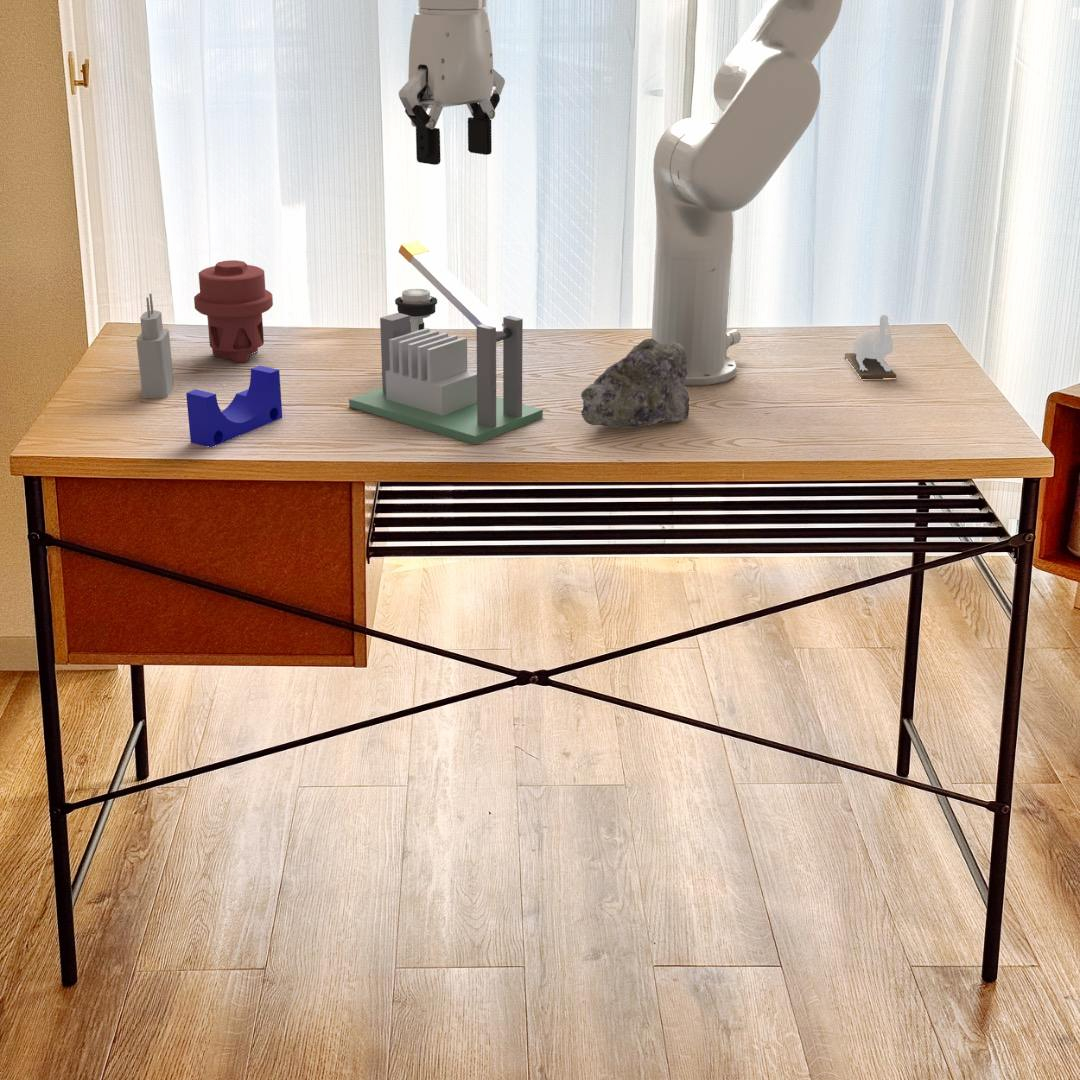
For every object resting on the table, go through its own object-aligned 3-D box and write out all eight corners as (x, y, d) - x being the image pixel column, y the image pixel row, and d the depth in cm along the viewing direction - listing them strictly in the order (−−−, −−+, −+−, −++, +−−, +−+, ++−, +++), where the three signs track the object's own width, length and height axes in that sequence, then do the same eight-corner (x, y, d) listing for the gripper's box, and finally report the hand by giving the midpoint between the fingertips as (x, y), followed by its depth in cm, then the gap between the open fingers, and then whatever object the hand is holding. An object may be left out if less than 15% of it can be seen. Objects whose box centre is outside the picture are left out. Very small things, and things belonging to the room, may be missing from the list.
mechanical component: (183, 358, 192) (239, 341, 200) (236, 372, 187) (292, 354, 194) (174, 265, 187) (232, 251, 195) (229, 276, 182) (286, 262, 189)
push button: (432, 378, 185) (430, 301, 181) (391, 376, 186) (388, 299, 182) (441, 363, 191) (440, 287, 187) (401, 361, 192) (399, 286, 188)
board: (418, 383, 183) (415, 285, 178) (542, 417, 172) (543, 313, 167) (349, 406, 175) (344, 304, 170) (475, 444, 163) (474, 336, 158)
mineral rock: (580, 437, 166) (582, 352, 162) (578, 406, 176) (580, 325, 172) (694, 438, 166) (698, 353, 162) (685, 407, 176) (689, 326, 172)
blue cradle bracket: (253, 412, 173) (249, 363, 171) (282, 418, 171) (279, 369, 169) (181, 441, 164) (176, 390, 162) (210, 449, 162) (206, 397, 159)
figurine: (905, 391, 183) (911, 324, 179) (869, 392, 183) (875, 324, 179) (877, 358, 196) (882, 294, 192) (843, 359, 196) (848, 295, 192)
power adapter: (141, 398, 177) (130, 301, 172) (149, 384, 182) (140, 289, 177) (167, 398, 177) (157, 301, 172) (175, 384, 182) (166, 289, 177)
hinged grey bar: (414, 248, 170) (418, 239, 169) (509, 340, 165) (513, 332, 165) (397, 252, 168) (401, 243, 167) (493, 345, 163) (497, 337, 163)
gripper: (477, -7, 172) (479, 145, 179) (372, 1, 159) (378, 164, 166) (527, -3, 167) (526, 152, 175) (423, 5, 155) (427, 172, 162)
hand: (454, 157), depth 170 cm, fingers open, 8 cm apart
